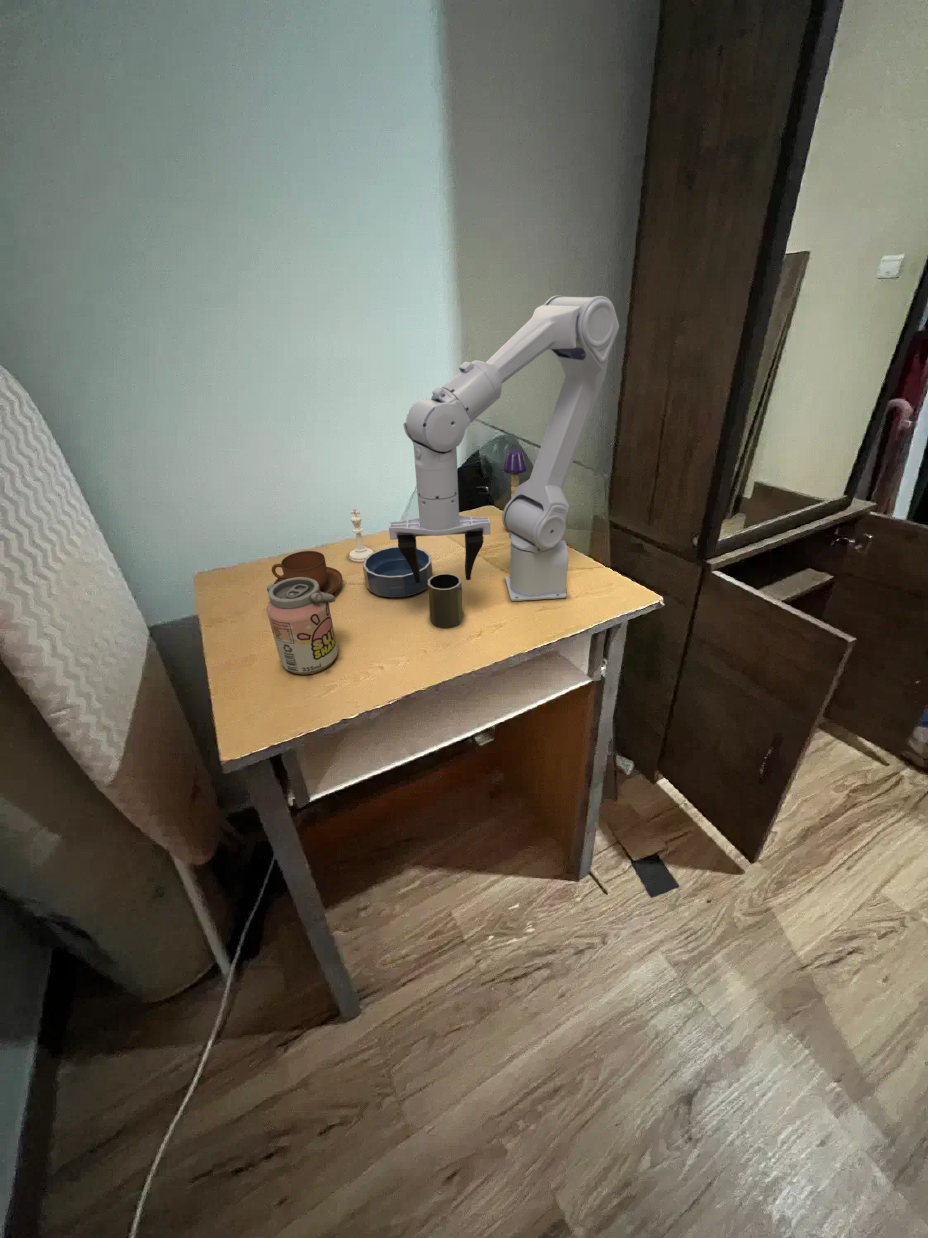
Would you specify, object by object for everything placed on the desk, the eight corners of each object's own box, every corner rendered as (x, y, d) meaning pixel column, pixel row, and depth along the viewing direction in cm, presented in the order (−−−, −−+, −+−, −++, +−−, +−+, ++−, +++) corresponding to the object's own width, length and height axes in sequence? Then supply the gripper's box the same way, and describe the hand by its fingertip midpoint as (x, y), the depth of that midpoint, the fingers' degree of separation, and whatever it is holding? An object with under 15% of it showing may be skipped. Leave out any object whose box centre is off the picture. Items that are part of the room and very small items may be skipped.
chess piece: (369, 562, 103) (362, 514, 97) (345, 560, 104) (337, 512, 98) (377, 551, 107) (371, 504, 101) (354, 550, 108) (347, 503, 102)
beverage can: (308, 634, 82) (292, 566, 76) (354, 645, 80) (341, 575, 73) (269, 669, 75) (247, 597, 69) (318, 683, 72) (300, 609, 66)
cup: (461, 609, 87) (460, 572, 83) (463, 627, 83) (462, 588, 79) (430, 611, 87) (427, 574, 83) (430, 629, 83) (427, 590, 79)
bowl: (432, 565, 101) (430, 544, 98) (433, 597, 91) (431, 574, 88) (369, 569, 100) (366, 548, 98) (363, 602, 90) (359, 579, 88)
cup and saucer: (271, 613, 88) (263, 581, 85) (277, 579, 98) (270, 549, 95) (344, 603, 90) (338, 571, 87) (343, 571, 100) (337, 541, 96)
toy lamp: (502, 532, 113) (502, 453, 104) (504, 523, 117) (505, 447, 107) (524, 533, 112) (527, 454, 103) (526, 524, 116) (528, 447, 107)
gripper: (486, 480, 77) (487, 563, 84) (387, 485, 77) (396, 568, 84) (491, 497, 71) (492, 585, 79) (384, 503, 71) (394, 590, 78)
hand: (442, 578), depth 81 cm, fingers open, 7 cm apart
